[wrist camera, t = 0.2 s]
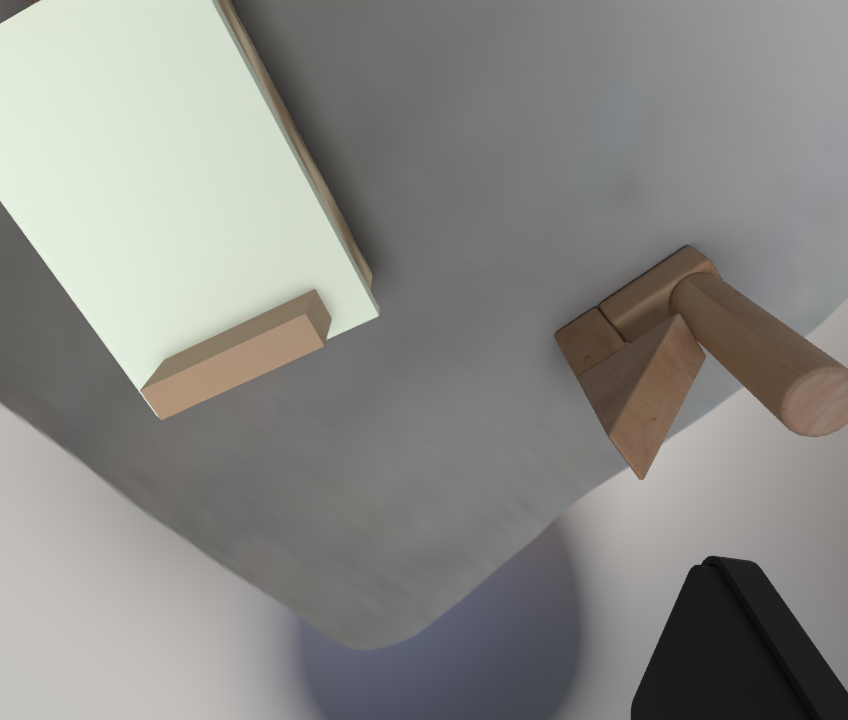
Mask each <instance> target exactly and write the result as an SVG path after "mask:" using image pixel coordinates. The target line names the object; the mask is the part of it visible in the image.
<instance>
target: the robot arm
mask: <svg viewBox="0 0 848 720" xmlns="http://www.w3.org/2000/svg"><path fill="white" fill-rule="evenodd" d="M631 720H848V693H847V691H846V690H845V689H844V687H843V685H842V684H841V682H840V681H839V680H838V678H837V677H836V675H835V674H834V673H833V671H832V670H831V668H830V667H829V665H828V664H827V662H826V661H825V660H824V658H823V657H822V655H821V654H820V653H819V651H818V650H817V648H816V647H815V645H814V644H813V642H812V641H811V639H810V638H809V637H808V635H807V634H806V632H805V631H804V629H803V628H802V627H801V625H800V624H799V622H798V621H797V619H796V618H795V617H794V615H793V614H792V612H791V611H790V609H789V608H788V606H787V605H786V604H785V602H784V601H783V599H782V598H781V596H780V595H779V594H778V592H777V591H776V589H775V588H774V586H773V585H772V584H771V582H770V581H769V579H768V578H767V577H766V575H765V574H764V572H763V571H762V569H761V568H760V567H759V566H758V565H757V564H756V563H754V562H752V561H747V560H740V559H733V558H726V557H718V556H709V557H707V558H706V559H705V560H704V561H703V562H702V564H701V565H694V566H693V567H692V568H691V569H690V571H689V573H688V575H687V577H686V580H685V582H684V584H683V586H682V589H681V591H680V593H679V596H678V598H677V600H676V602H675V605H674V607H673V609H672V612H671V614H670V616H669V619H668V621H667V623H666V626H665V628H664V630H663V632H662V635H661V637H660V639H659V642H658V644H657V646H656V649H655V651H654V653H653V655H652V657H651V660H650V662H649V664H648V667H647V669H646V671H645V673H644V676H643V678H642V680H641V683H640V685H639V687H638V690H637V692H636V694H635V696H634V699H633V702H632V707H631Z"/></svg>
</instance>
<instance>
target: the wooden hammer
mask: <svg viewBox="0 0 848 720" xmlns="http://www.w3.org/2000/svg"><path fill="white" fill-rule="evenodd" d="M599 309H600V310H599ZM599 309H597V308H594V309H592V310H590V311H589V312H587V313H586V314H584V315H583V316H581V317H580V318H578V319H577V320H575V321H574V322H572V323H571V324H569V325H568V326H566V327H565V328H563V329H562V330H560V331H559V332H557V334H556V335H555V338H556V341H557V342H558V344H559V346H560V348H561V350H562V352H563V354H564V356H565V357H566V359H567V361H568V363H569V365H570V367H571V369H572V371H573V372H574V374H575V376H576V378H577V380H578V381H579V383H580V385H581V387H582V389H583V391H584V393H585V394H586V396H587V398H588V400H589V402H590V404H591V406H592V408H593V409H594V411H595V413H596V415H597V417H598V419H599V421H600V423H601V424H602V426H603V428H604V430H605V432H606V434H607V436H608V437H609V439H610V440H611V442H612V443H613V444H614V446H615V447H616V448H617V450H618V451H619V452H620V454H621V455H622V456H623V458H624V459H625V460H626V462H627V463H628V465H629V466H630V467H631V469H632V470H633V471H634V473H635V474H636V475H637V477H638V478H639V479H640V480H643V479H644V478H645V476H646V474H647V472H648V470H649V468H650V466H651V464H652V462H653V460H654V458H655V456H656V454H657V452H658V450H659V448H660V447H661V445H662V443H663V441H664V439H665V437H666V435H667V433H668V431H669V429H670V427H671V425H672V423H673V421H674V419H675V417H676V415H677V413H678V411H679V409H680V407H681V405H682V403H683V401H684V399H685V397H686V395H687V393H688V391H689V389H690V388H691V386H692V384H693V382H694V380H695V378H696V376H697V374H698V372H699V370H700V368H701V366H702V364H703V362H704V360H705V358H706V355H705V353H704V352H703V350H702V348H701V347H700V345H699V344H698V342H699V343H700V344H701V345H702V346H703V347H704V348H705V349H707V350H708V351H709V352H710V353H711V354H712V355H713V356H714V357H715V358H716V359H717V360H718V361H719V362H720V363H721V364H722V365H723V366H724V367H725V368H726V369H727V370H728V371H729V372H730V373H731V374H732V375H733V376H734V377H735V378H736V379H737V380H738V381H739V382H740V383H741V384H743V385H744V386H745V387H746V388H747V389H748V390H749V391H750V392H751V393H752V394H753V395H754V396H755V397H756V398H757V399H758V400H759V401H760V402H761V403H762V404H763V405H764V406H765V407H766V408H767V409H768V410H769V411H770V412H771V413H773V415H774V416H776V418H778V419H779V420H780V421H781V422H782V423H783V424H784V425H785V426H786V427H787V428H788V429H789V430H790V431H792V432H794V433H796V434H798V435H802V436H809V437H818V436H825V435H828V434H831V433H833V432H835V431H838V430H839V429H841V428H842V427H843V426H845V425H846V424H847V423H848V369H847V368H846V367H844V366H843V365H842V364H840V363H839V362H838V361H836V360H835V359H833V358H832V357H830V356H829V355H828V354H826V353H825V352H823V351H822V350H821V349H819V348H818V347H816V346H815V345H813V344H812V343H811V342H809V341H808V340H806V339H805V338H804V337H802V336H801V335H799V334H798V333H796V332H795V331H794V330H792V329H791V328H789V327H788V326H786V325H785V324H784V323H782V322H781V321H779V320H778V319H777V318H775V317H774V316H772V315H771V314H769V313H768V312H767V311H765V310H764V309H762V308H761V307H760V306H758V305H757V304H755V303H754V302H752V301H751V300H750V299H748V298H747V297H745V296H744V295H743V294H741V293H740V292H738V291H737V290H735V289H734V288H733V287H731V286H730V285H728V284H727V283H726V282H724V281H723V279H722V278H721V276H720V274H719V273H718V271H717V269H716V267H715V266H714V264H713V262H712V261H711V260H710V259H709V258H707V257H706V256H704V255H703V254H701V253H700V252H698V251H697V250H695V249H694V248H692V247H691V246H687V247H685V248H683V249H682V250H680V251H679V252H677V253H676V254H674V255H673V256H671V257H670V258H668V259H667V260H665V261H664V262H662V263H661V264H659V265H658V266H656V267H655V268H653V269H652V270H650V271H649V272H647V273H646V274H644V275H643V276H641V277H640V278H638V279H637V280H635V281H634V282H632V283H631V284H629V285H628V286H626V287H625V288H623V289H622V290H620V291H619V292H617V293H616V294H614V295H613V296H611V297H610V298H608V299H607V300H605V301H604V302H602V303H601V304H600V305H599ZM697 341H698V342H697ZM625 342H627V343H630V344H629V345H626V343H625Z"/></svg>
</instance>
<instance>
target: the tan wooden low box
mask: <svg viewBox="0 0 848 720" xmlns="http://www.w3.org/2000/svg"><path fill="white" fill-rule="evenodd" d="M217 2H218V4H219V6H220V7H221V9H222V11H223V13H224V15H225V17H226V19H227V21H228V23H229V25H230V26H231V28H232V30H233V32H234V34H235V36H236V38H237V40H238V42H239V43H240V45H241V47H242V49H243V51H244V53H245V55H246V57H247V59H248V60H249V62H250V64H251V66H252V68H253V70H254V72H255V74H256V76H257V77H258V79H259V81H260V83H261V85H262V87H263V89H264V91H265V93H266V95H267V96H268V98H269V100H270V102H271V104H272V106H273V108H274V110H275V112H276V113H277V115H278V117H279V119H280V121H281V123H282V125H283V127H284V129H285V130H286V132H287V134H288V136H289V138H290V140H291V142H292V144H293V146H294V147H295V149H296V151H297V153H298V155H299V157H300V159H301V161H302V163H303V165H304V166H305V168H306V170H307V172H308V174H309V176H310V178H311V180H312V182H313V183H314V185H315V187H316V189H317V191H318V193H319V195H320V197H321V199H322V200H323V202H324V204H325V206H326V208H327V210H328V212H329V214H330V216H331V217H332V219H333V221H334V223H335V225H336V227H337V229H338V231H339V233H340V235H341V236H342V238H343V240H344V242H345V244H346V246H347V248H348V250H349V252H350V253H351V255H352V257H353V259H354V261H355V263H356V265H357V267H358V269H359V270H360V272H361V274H362V276H363V278H364V280H365V282H366V284H367V286H368V287H369V289H370V290H371V283H372V276H373V273H372V271H371V270H370V268H369V266H368V264H367V262H366V260H365V258H364V256H363V254H362V252H361V250H360V248H359V246H358V245H357V243H356V241H355V239H354V237H353V235H352V233H351V231H350V229H349V227H348V225H347V223H346V222H345V220H344V218H343V216H342V214H341V212H340V210H339V208H338V206H337V204H336V202H335V200H334V199H333V197H332V195H331V193H330V191H329V189H328V187H327V185H326V183H325V181H324V179H323V177H322V175H321V174H320V172H319V170H318V168H317V166H316V164H315V162H314V160H313V158H312V156H311V154H310V152H309V151H308V149H307V147H306V145H305V143H304V141H303V139H302V137H301V135H300V133H299V131H298V129H297V128H296V126H295V124H294V122H293V120H292V118H291V116H290V114H289V112H288V110H287V108H286V106H285V104H284V103H283V101H282V99H281V97H280V95H279V93H278V91H277V89H276V87H275V85H274V83H273V81H272V80H271V78H270V76H269V74H268V72H267V70H266V68H265V66H264V64H263V62H262V60H261V58H260V56H259V55H258V53H257V51H256V49H255V47H254V45H253V43H252V41H251V39H250V37H249V35H248V33H247V32H246V30H245V28H244V26H243V24H242V22H241V20H240V18H239V16H238V14H237V12H236V10H235V9H234V7H233V5H232V3H231V1H230V0H217Z"/></svg>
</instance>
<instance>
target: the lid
mask: <svg viewBox="0 0 848 720" xmlns="http://www.w3.org/2000/svg"><path fill="white" fill-rule="evenodd" d="M0 201H1V202H2V204H3V205H4V206H5V208H6V209H7V211H8V212H9V213H10V215H11V216H12V217H13V219H14V220H15V222H16V223H17V224H18V226H19V227H20V228H21V230H22V231H23V233H24V234H25V235H26V237H27V238H28V239H29V241H30V242H31V244H32V245H33V246H34V248H35V249H36V250H37V252H38V253H39V255H40V256H41V257H42V259H43V260H44V261H45V263H46V264H47V266H48V267H49V268H50V270H51V271H52V272H53V274H54V275H55V277H56V278H57V279H58V281H59V282H60V283H61V285H62V286H63V287H64V289H65V290H66V292H67V293H68V294H69V296H70V297H71V298H72V300H73V301H74V303H75V304H76V305H77V307H78V308H79V309H80V311H81V312H82V314H83V315H84V316H85V318H86V319H87V320H88V322H89V323H90V325H91V326H92V327H93V329H94V330H95V331H96V333H97V334H98V336H99V337H100V338H101V340H102V341H103V342H104V344H105V345H106V347H107V348H108V349H109V351H110V352H111V353H112V355H113V356H114V358H115V359H116V360H117V362H118V363H119V364H120V366H121V367H122V368H123V370H124V371H125V373H126V374H127V375H128V377H129V378H130V379H131V381H132V382H133V384H134V385H135V386H136V388H137V389H138V390H139V392H140V393H141V395H142V396H143V397H144V399H145V400H146V401H147V403H148V404H149V406H150V407H151V408H152V410H153V411H154V412H155V414H156V415H157V417H158V416H159V418H160V419H161V420H163V419H165V418H167V417H170V416H172V415H174V414H176V413H178V412H181V411H183V410H185V409H187V408H189V407H192V406H194V405H196V404H198V403H200V402H203V401H205V400H207V399H209V398H212V397H214V396H216V395H218V394H220V393H223V392H225V391H227V390H229V389H231V388H234V387H236V386H238V385H240V384H242V383H245V382H247V381H249V380H251V379H253V378H256V377H258V376H260V375H262V374H264V373H267V372H269V371H271V370H273V369H276V368H278V367H280V366H282V365H284V364H287V363H289V362H291V361H293V360H295V359H298V358H300V357H302V356H304V355H306V354H309V353H311V352H313V351H315V350H317V349H320V348H322V347H324V346H325V343H326V340H327V339H329V338H332V337H334V336H336V335H338V334H340V333H343V332H345V331H347V330H349V329H351V328H354V327H356V326H358V325H360V324H362V323H365V322H367V321H369V320H371V319H373V318H376V317H378V316H379V311H380V308H379V306H378V305H377V303H376V301H375V299H374V297H373V295H372V293H371V291H370V289H369V287H368V286H367V284H366V282H365V280H364V278H363V276H362V274H361V272H360V270H359V269H358V267H357V265H356V263H355V261H354V259H353V257H352V255H351V253H350V252H349V250H348V248H347V246H346V244H345V242H344V240H343V238H342V236H341V235H340V233H339V231H338V229H337V227H336V225H335V223H334V221H333V219H332V217H331V216H330V214H329V212H328V210H327V208H326V206H325V204H324V202H323V200H322V199H321V197H320V195H319V193H318V191H317V189H316V187H315V185H314V183H313V182H312V180H311V178H310V176H309V174H308V172H307V170H306V168H305V166H304V165H303V163H302V161H301V159H300V157H299V155H298V153H297V151H296V149H295V147H294V146H293V144H292V142H291V140H290V138H289V136H288V134H287V132H286V130H285V129H284V127H283V125H282V123H281V121H280V119H279V117H278V115H277V113H276V112H275V110H274V108H273V106H272V104H271V102H270V100H269V98H268V96H267V95H266V93H265V91H264V89H263V87H262V85H261V83H260V81H259V79H258V77H257V76H256V74H255V72H254V70H253V68H252V66H251V64H250V62H249V60H248V59H247V57H246V55H245V53H244V51H243V49H242V47H241V45H240V43H239V42H238V40H237V38H236V36H235V34H234V32H233V30H232V28H231V26H230V25H229V23H228V21H227V19H226V17H225V15H224V13H223V11H222V9H221V7H220V6H219V4H218V2H217V0H40V1H39V2H37V3H35V4H33V5H32V6H30V7H28V8H27V9H25V10H23V11H21V12H20V13H18V14H16V15H15V16H13V17H11V18H9V19H8V20H6V21H4V22H3V23H1V24H0Z"/></svg>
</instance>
